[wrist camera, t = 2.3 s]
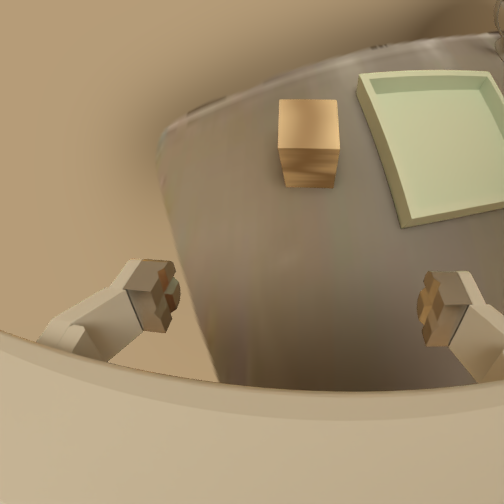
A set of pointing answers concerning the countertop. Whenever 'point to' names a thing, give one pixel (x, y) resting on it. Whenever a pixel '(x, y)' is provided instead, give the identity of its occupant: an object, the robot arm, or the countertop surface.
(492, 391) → the robot arm
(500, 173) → the tray
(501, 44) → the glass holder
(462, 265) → the countertop surface
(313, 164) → the block
